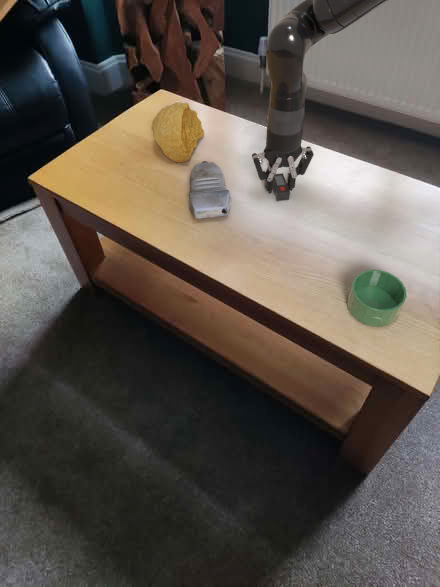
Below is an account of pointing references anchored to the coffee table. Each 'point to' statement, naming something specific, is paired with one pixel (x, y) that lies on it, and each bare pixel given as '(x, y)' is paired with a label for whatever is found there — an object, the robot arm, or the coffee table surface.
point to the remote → (280, 187)
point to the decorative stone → (177, 131)
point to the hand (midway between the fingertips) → (279, 189)
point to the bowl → (376, 297)
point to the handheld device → (208, 191)
